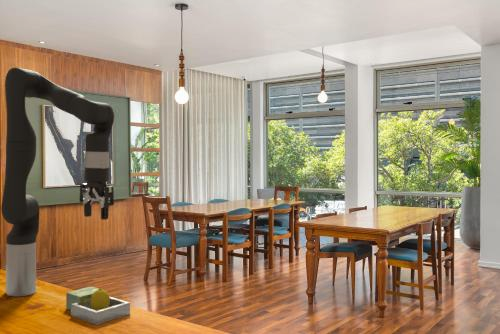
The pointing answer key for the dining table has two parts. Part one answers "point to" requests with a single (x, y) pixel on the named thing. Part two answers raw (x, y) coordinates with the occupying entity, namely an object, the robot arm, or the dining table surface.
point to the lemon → (100, 300)
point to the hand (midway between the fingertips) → (96, 217)
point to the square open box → (82, 309)
